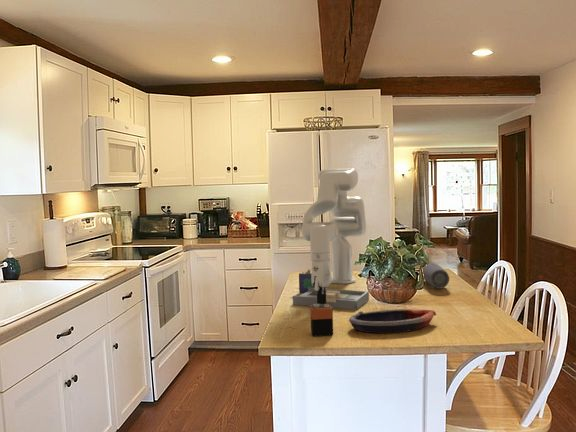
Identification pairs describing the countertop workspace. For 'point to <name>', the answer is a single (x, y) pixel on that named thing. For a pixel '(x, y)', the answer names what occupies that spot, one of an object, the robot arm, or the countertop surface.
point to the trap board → (346, 301)
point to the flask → (305, 281)
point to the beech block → (332, 296)
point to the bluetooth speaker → (435, 275)
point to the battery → (321, 320)
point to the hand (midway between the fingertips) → (321, 303)
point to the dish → (391, 320)
